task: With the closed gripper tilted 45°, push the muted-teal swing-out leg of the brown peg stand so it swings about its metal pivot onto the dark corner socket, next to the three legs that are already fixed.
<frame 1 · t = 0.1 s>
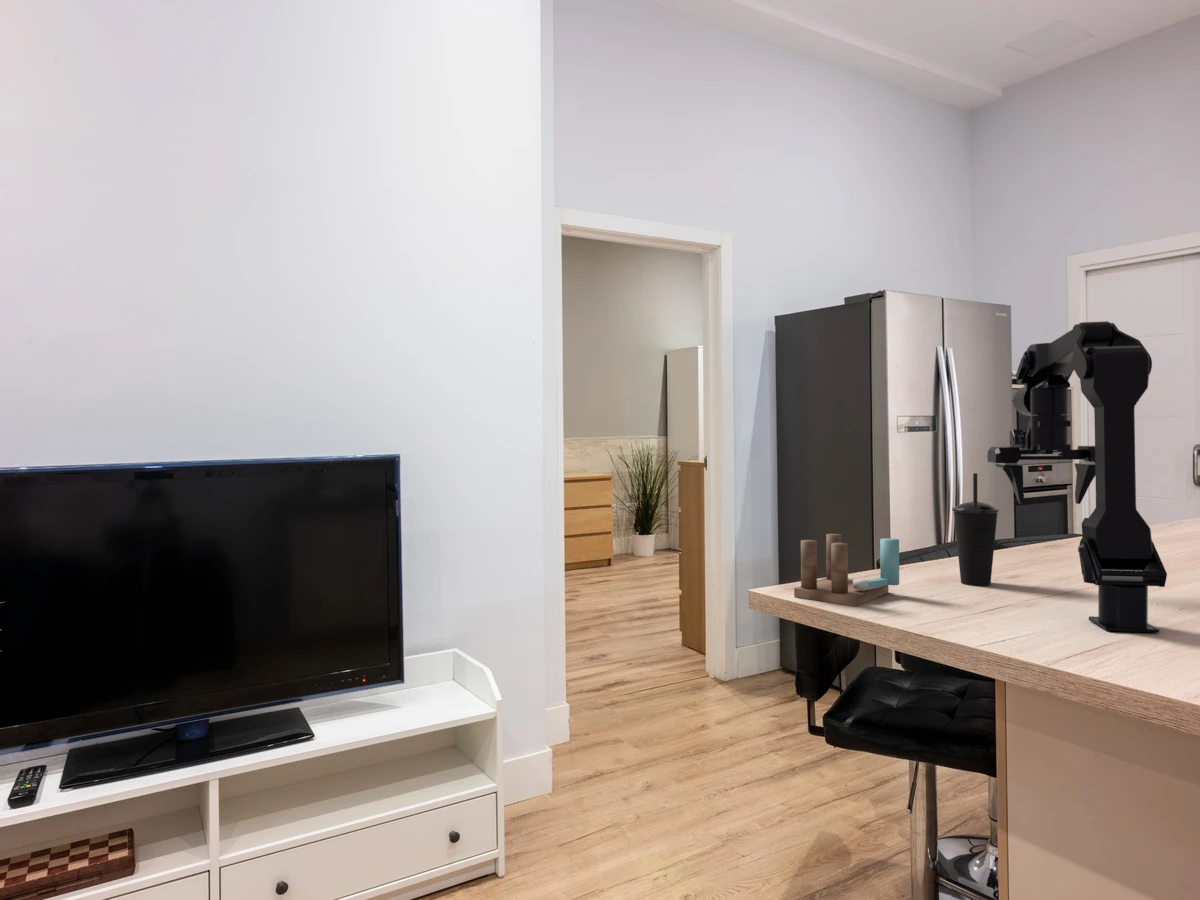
hand: (1048, 503, 134), 15 cm above the table, tool pointing down, fingers open, 9 cm apart
brown peg stand: (863, 591, 132), on the table
hinged leg: (875, 563, 127), point 6 cm above the table, hinge at 0.0°
drinking cup: (975, 584, 137), on the table
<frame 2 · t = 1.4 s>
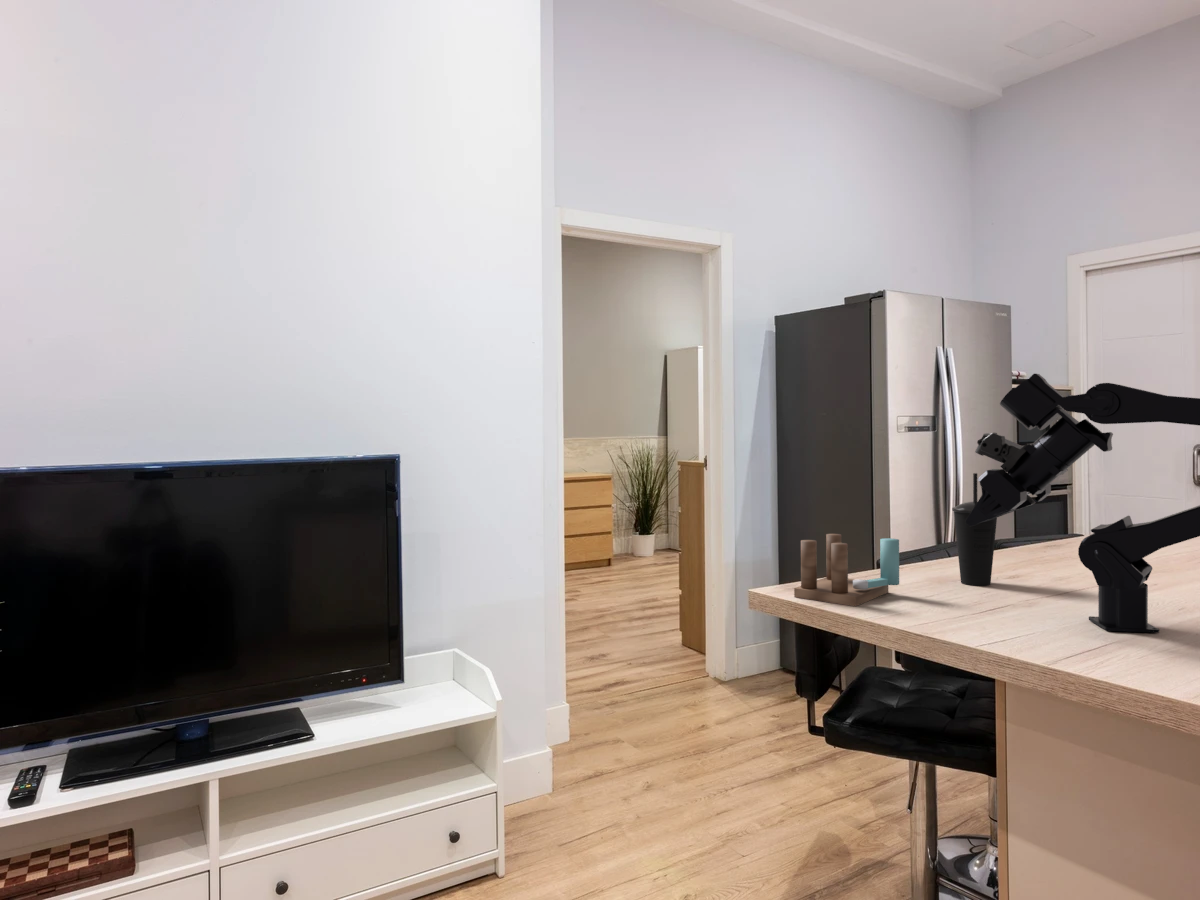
hand: (975, 521, 119), 13 cm above the table, tool tilted 45°, fingers open, 7 cm apart
nothing on the table moved.
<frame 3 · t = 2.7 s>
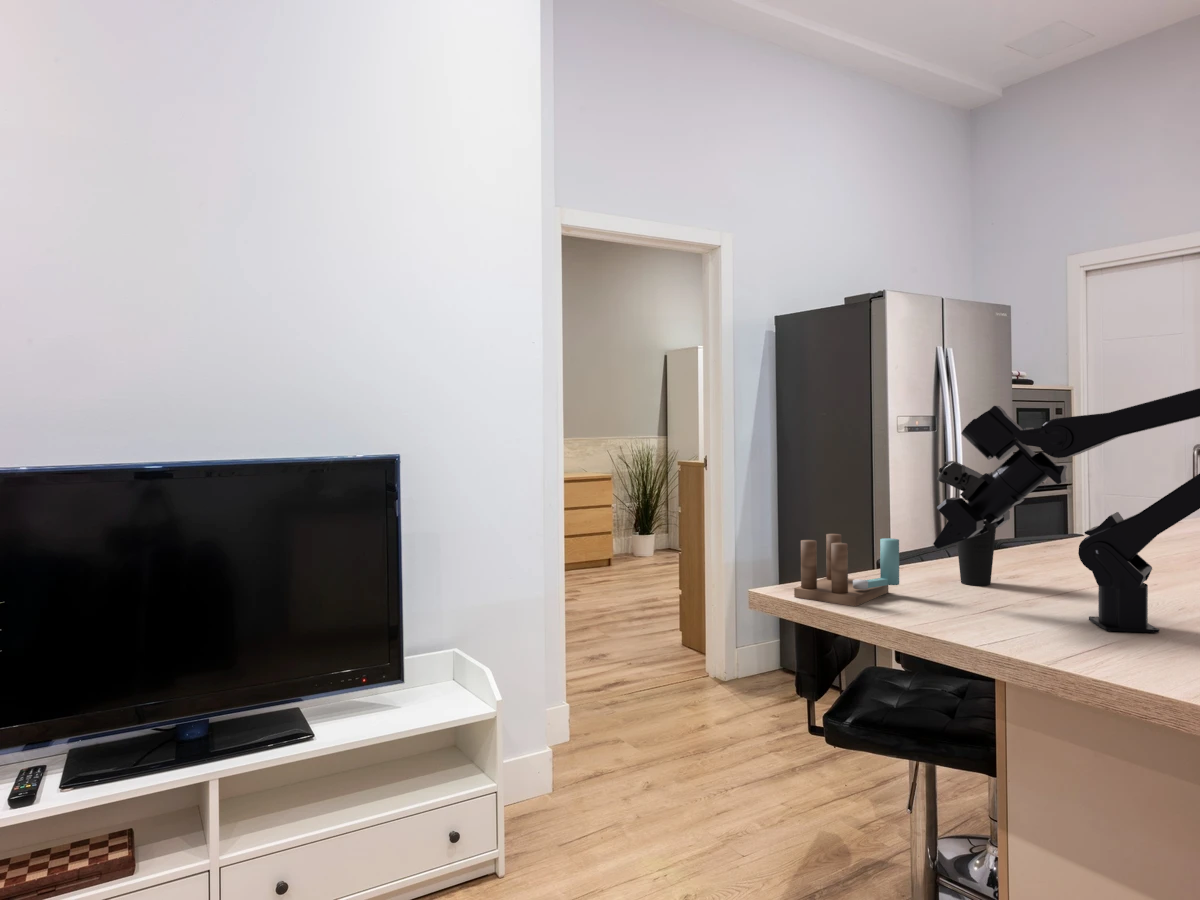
hand: (935, 546, 123), 9 cm above the table, tool tilted 45°, fingers closed
nothing on the table moved.
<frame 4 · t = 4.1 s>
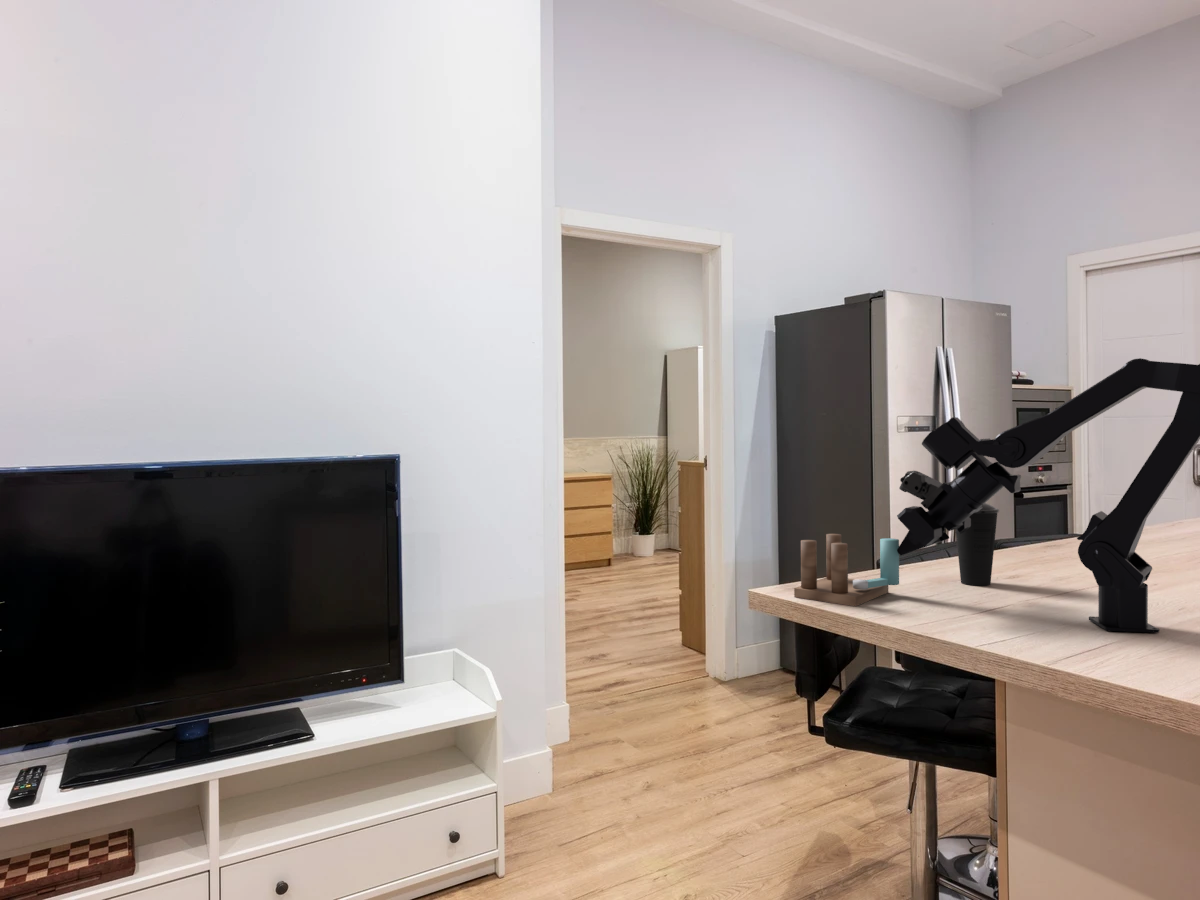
hand: (899, 553, 128), 7 cm above the table, tool tilted 45°, fingers closed, pressing on hinged leg
hinged leg: (875, 563, 127), point 6 cm above the table, hinge at 0.3°, touching gripper
everything else where it was.
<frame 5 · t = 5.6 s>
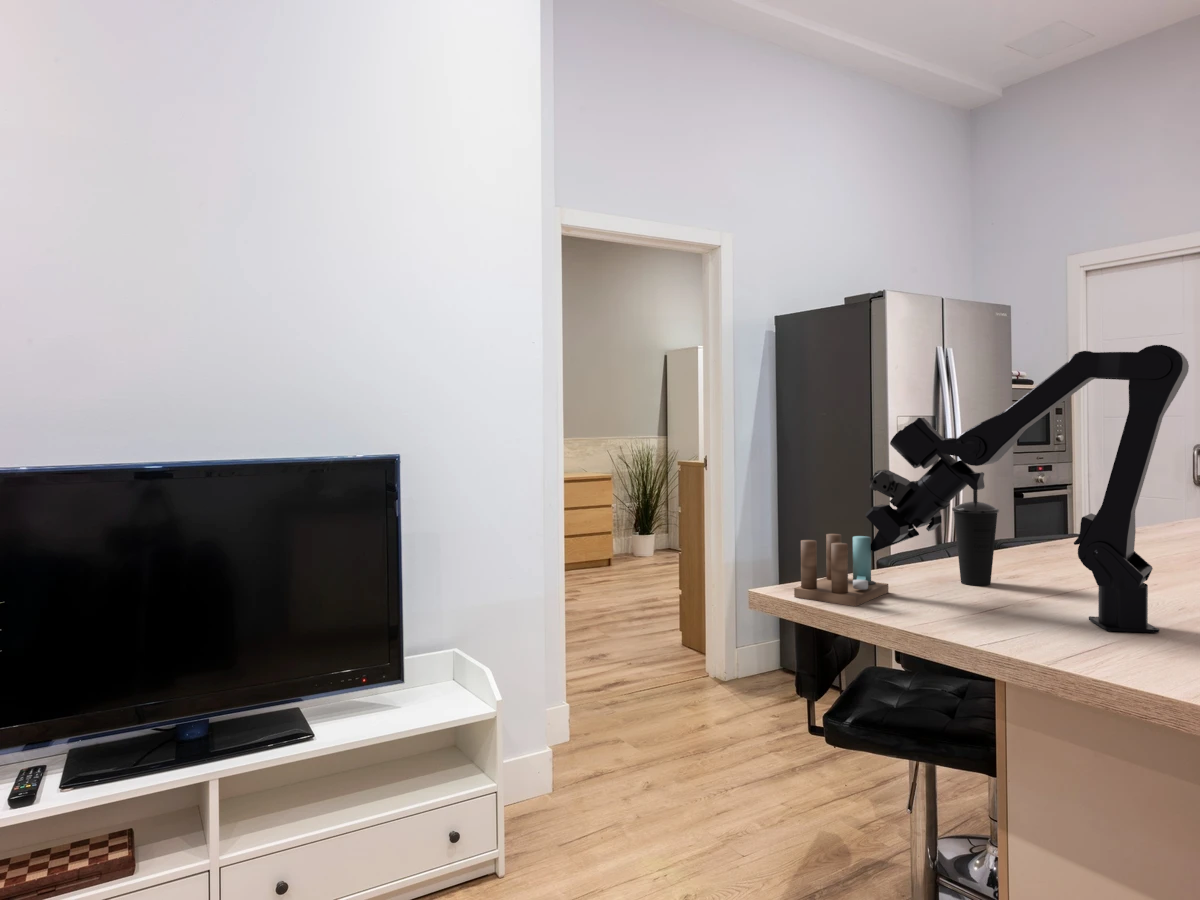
hand: (871, 549, 132), 7 cm above the table, tool tilted 45°, fingers closed, pressing on hinged leg
hinged leg: (861, 561, 129), point 6 cm above the table, hinge at 40.5°, touching gripper
everything else where it was.
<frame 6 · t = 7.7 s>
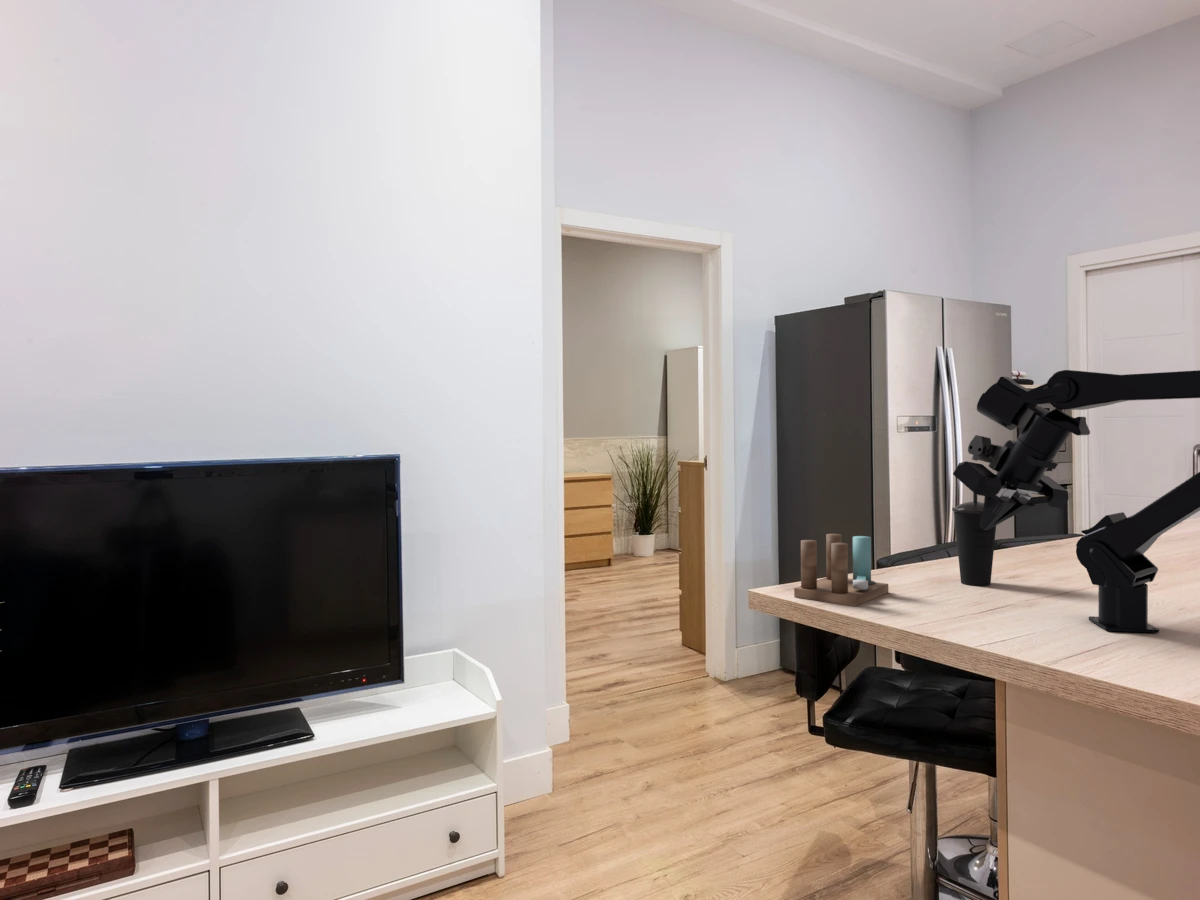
hand: (983, 528, 122), 12 cm above the table, tool tilted 30°, fingers closed
hinged leg: (861, 561, 129), point 6 cm above the table, hinge at 40.5°
everything else where it was.
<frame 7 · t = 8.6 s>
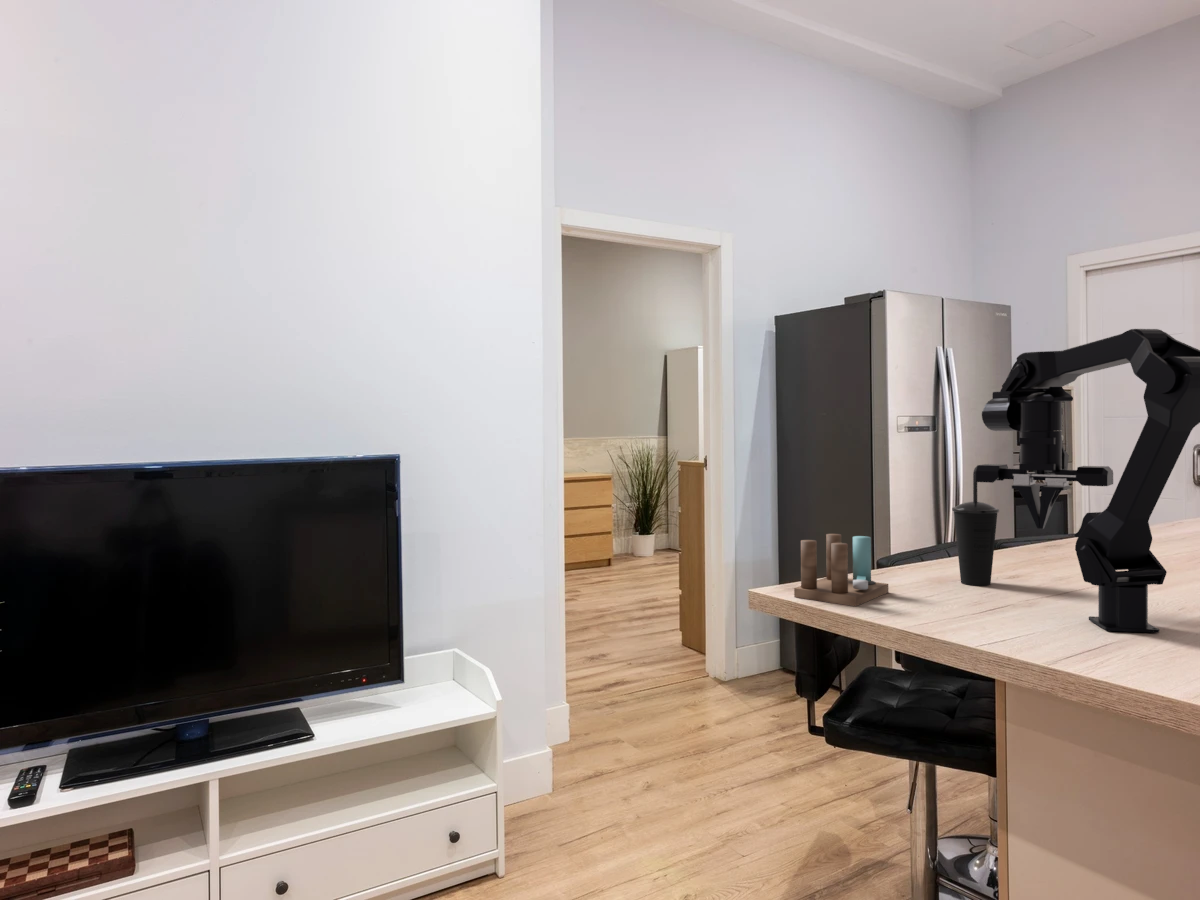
hand: (1040, 528, 121), 12 cm above the table, tool pointing down, fingers closed
nothing on the table moved.
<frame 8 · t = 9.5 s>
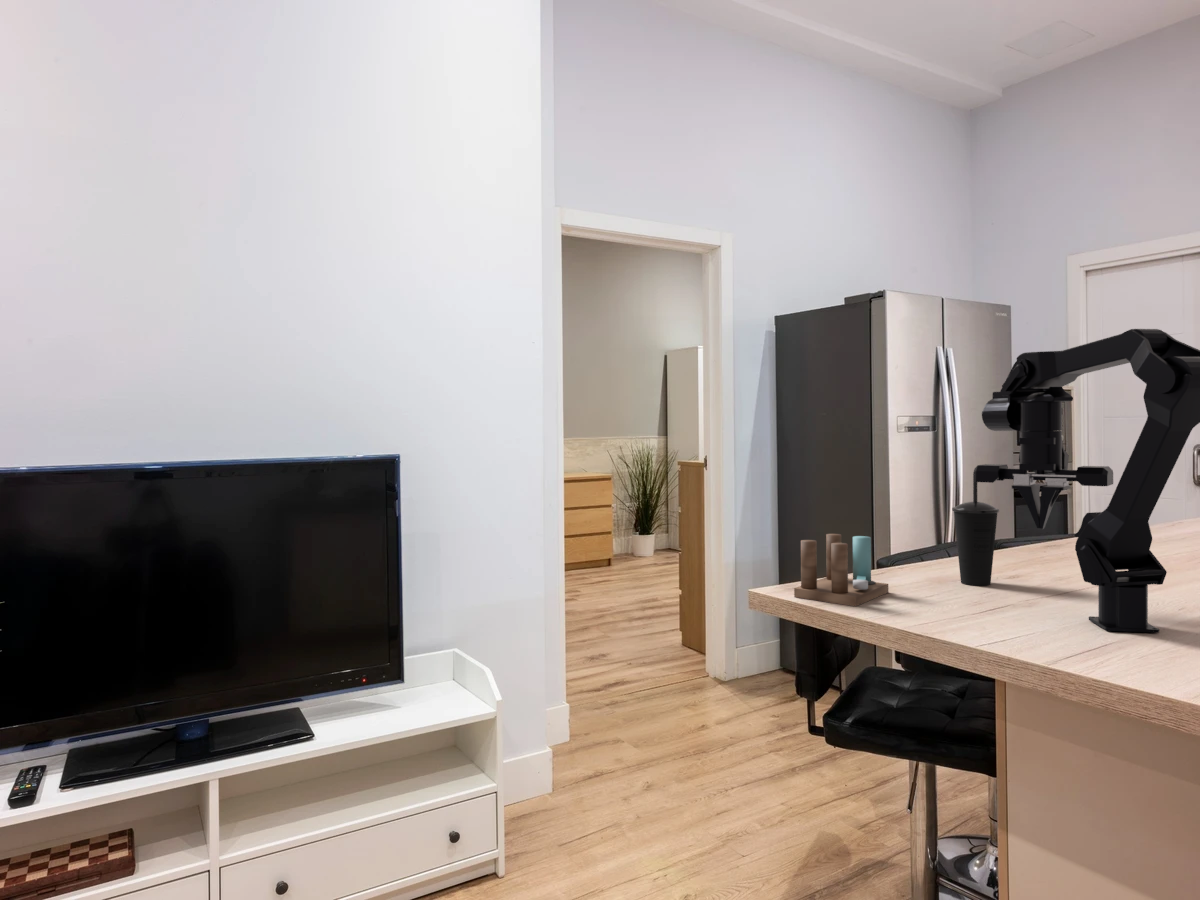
hand: (1040, 528, 121), 12 cm above the table, tool pointing down, fingers closed
nothing on the table moved.
at the end: hinged leg at +40° (first picture: +0°); drinking cup moved 0.2 cm from its start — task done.
